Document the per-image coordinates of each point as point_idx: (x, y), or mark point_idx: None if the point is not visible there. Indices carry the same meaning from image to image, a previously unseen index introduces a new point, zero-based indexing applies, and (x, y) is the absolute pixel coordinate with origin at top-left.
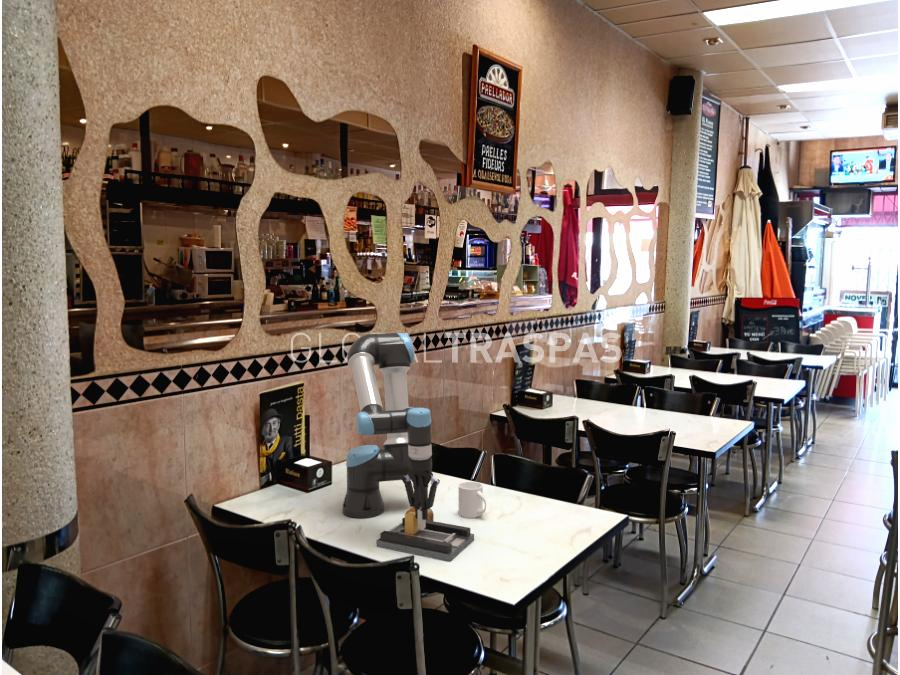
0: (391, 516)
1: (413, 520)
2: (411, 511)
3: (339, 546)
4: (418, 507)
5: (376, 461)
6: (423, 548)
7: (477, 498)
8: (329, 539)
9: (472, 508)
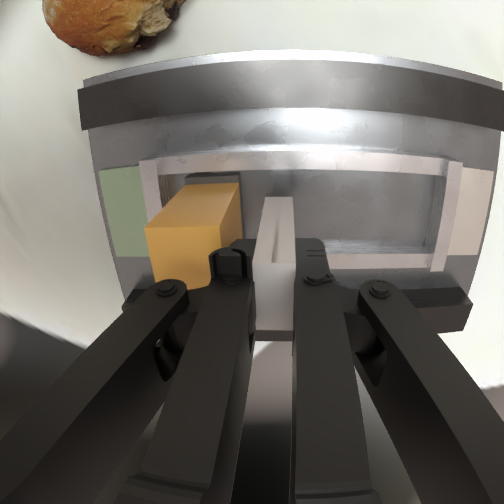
0: (9, 36)
1: None
2: (71, 24)
3: (66, 338)
4: (253, 327)
5: None
6: None
7: None
8: (17, 309)
9: None
